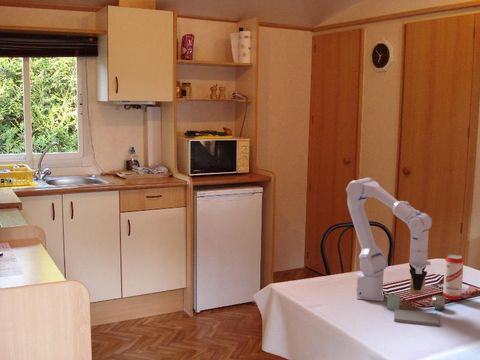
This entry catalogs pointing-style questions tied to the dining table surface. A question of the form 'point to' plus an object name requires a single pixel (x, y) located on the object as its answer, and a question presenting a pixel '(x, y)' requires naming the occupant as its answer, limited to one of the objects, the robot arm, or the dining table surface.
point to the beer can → (453, 277)
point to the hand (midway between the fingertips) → (416, 287)
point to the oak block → (418, 292)
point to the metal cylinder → (438, 303)
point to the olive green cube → (393, 302)
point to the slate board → (416, 317)
